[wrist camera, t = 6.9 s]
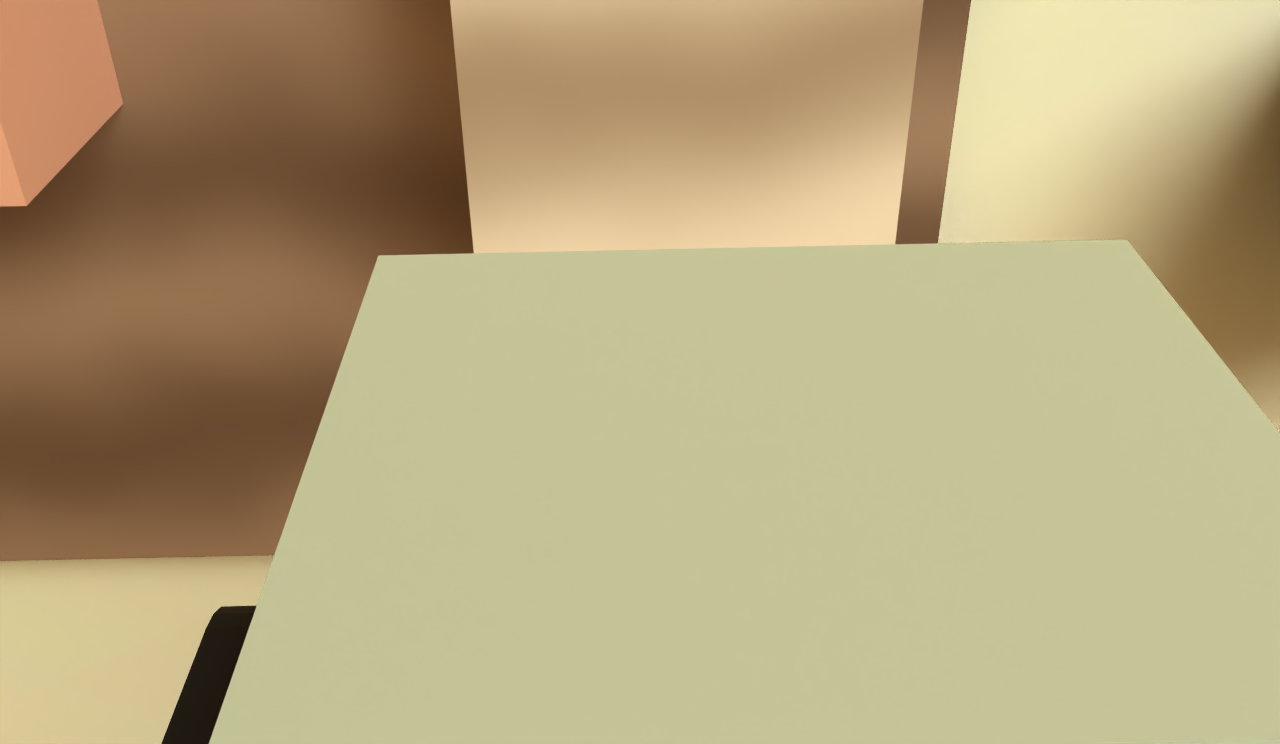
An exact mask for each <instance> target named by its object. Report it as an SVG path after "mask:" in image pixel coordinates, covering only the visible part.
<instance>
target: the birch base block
mask: <svg viewBox="0 0 1280 744" xmlns="http://www.w3.org/2000/svg"><path fill="white" fill-rule="evenodd" d="M450 6H451V17H452V27H453V38H454V49H455V59H456V70H457V80H458V91H459V102H460V112H461V123H462V133H463V144H464V155H465V165H466V176H467V186H468V197H469V208H470V218H471V229H472V239H473V250H474V253H517V252H564V251H610V250H657V249H703V248H750V247H796V246H843V245H890V244H895V241H896V232H897V224H898V215H899V207H900V198H901V190H902V181H903V172H904V164H905V155H906V147H907V138H908V129H909V121H910V112H911V104H912V95H913V86H914V78H915V69H916V61H917V52H918V43H919V35H920V26H921V18H922V9H923V0H450Z"/></svg>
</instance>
